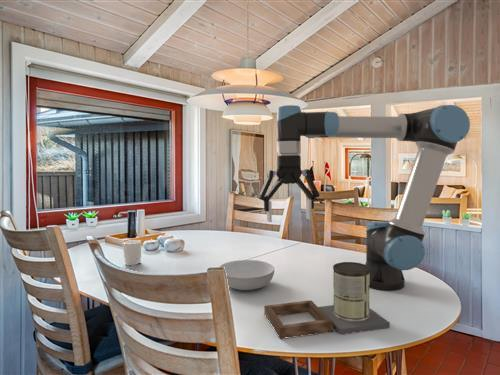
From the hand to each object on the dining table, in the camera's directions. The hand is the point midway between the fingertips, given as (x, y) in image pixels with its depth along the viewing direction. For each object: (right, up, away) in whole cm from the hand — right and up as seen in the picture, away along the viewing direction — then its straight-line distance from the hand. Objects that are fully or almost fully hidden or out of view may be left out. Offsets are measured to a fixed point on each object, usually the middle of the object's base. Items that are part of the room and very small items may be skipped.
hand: (289, 220), depth 121 cm
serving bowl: (-14, -26, +16) cm, 34 cm away
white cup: (-66, -24, +47) cm, 84 cm away
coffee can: (+17, -26, -13) cm, 34 cm away
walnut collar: (+1, -28, -15) cm, 32 cm away
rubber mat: (+17, -28, -13) cm, 35 cm away
